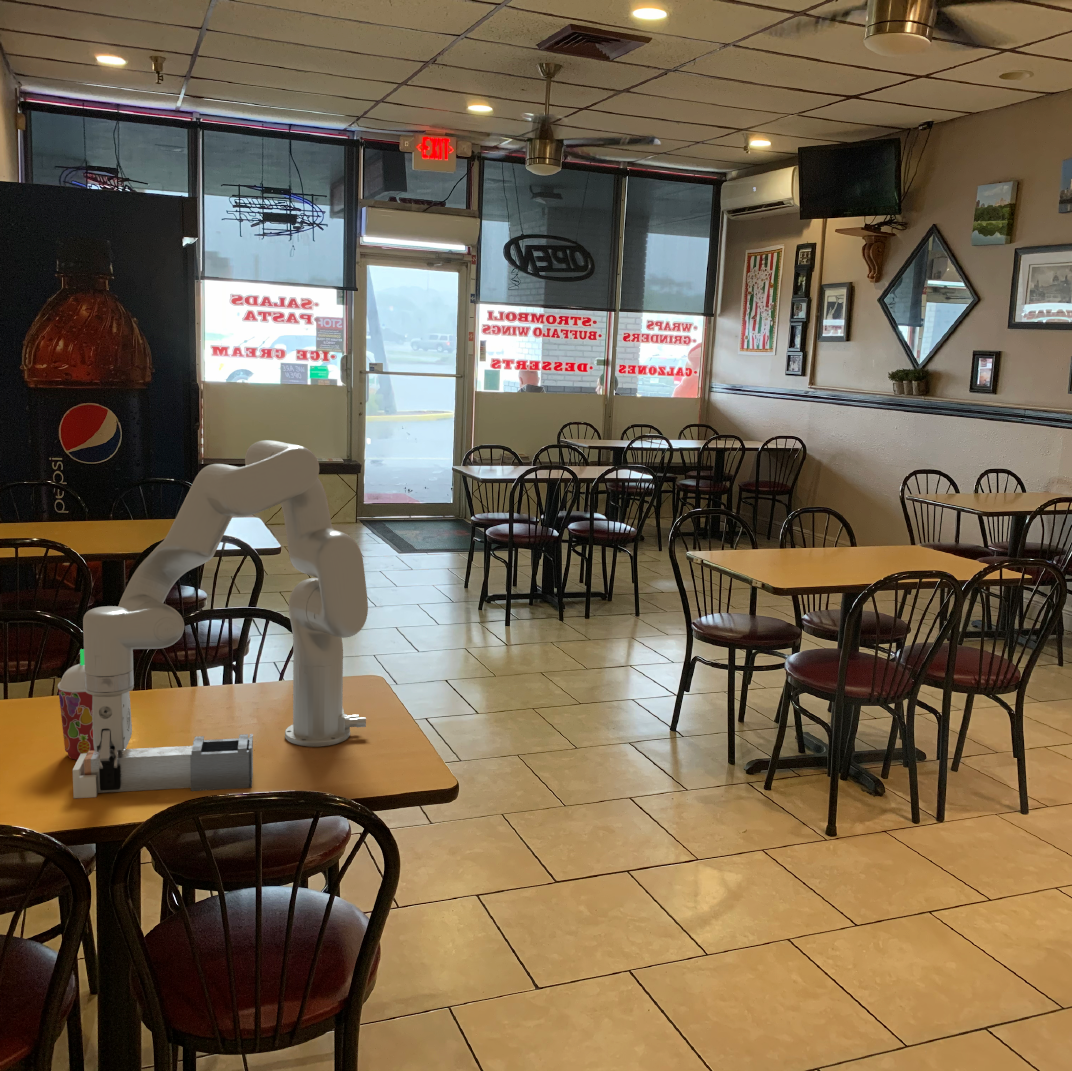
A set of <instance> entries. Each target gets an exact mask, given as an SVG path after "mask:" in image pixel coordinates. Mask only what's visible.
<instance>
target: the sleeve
mask: <svg viewBox="0 0 1072 1071" xmlns="http://www.w3.org/2000/svg"><path fill="white" fill-rule="evenodd" d="M253 737H254V734H253V733H250V734H248V733H243V734H238V737H237V738H219V739H217V738H216V739H215V738H214V739H205V736H204V735H203V736H194V739H193V741H192V746H193V748H192V753H191V754H190V770H191V788H190V792H194V791H195V792H199V791H200V792H201V791H216V790H218V791H219V790H232V789H233V790H235V789H236V790H237V789H252V787H253V775H254V773H253V772H254V751H253V750H254V741H253V740H254V738H253Z"/></svg>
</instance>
